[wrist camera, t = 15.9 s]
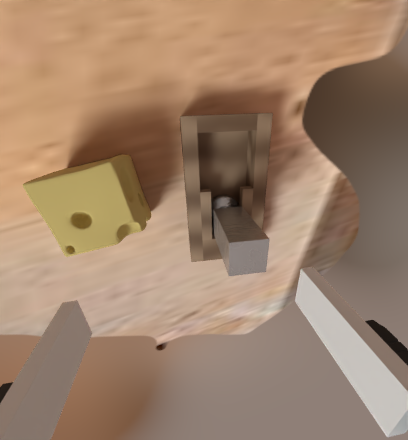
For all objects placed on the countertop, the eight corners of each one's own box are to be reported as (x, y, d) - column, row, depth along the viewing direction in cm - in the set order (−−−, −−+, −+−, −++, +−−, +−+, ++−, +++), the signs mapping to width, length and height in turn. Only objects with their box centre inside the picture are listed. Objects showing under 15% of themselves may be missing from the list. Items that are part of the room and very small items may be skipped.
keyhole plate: (179, 117, 30) (180, 116, 26) (259, 114, 31) (272, 112, 27) (190, 247, 39) (191, 261, 35) (251, 241, 40) (260, 254, 36)
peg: (204, 196, 34) (221, 236, 21) (239, 193, 34) (277, 231, 22) (205, 228, 36) (221, 282, 24) (238, 225, 37) (271, 276, 24)
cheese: (152, 212, 35) (144, 241, 26) (90, 227, 35) (60, 262, 26) (131, 149, 31) (113, 158, 22) (60, 165, 30) (10, 181, 21)
